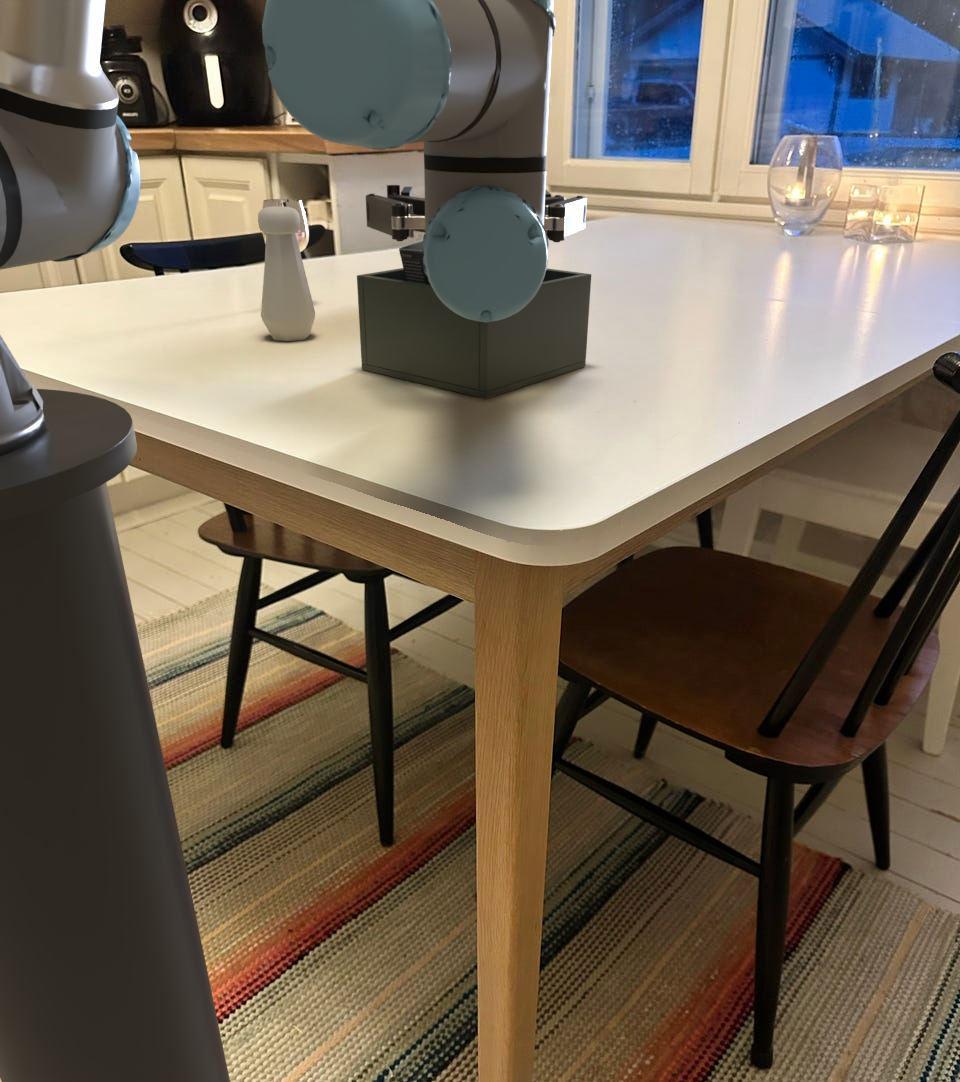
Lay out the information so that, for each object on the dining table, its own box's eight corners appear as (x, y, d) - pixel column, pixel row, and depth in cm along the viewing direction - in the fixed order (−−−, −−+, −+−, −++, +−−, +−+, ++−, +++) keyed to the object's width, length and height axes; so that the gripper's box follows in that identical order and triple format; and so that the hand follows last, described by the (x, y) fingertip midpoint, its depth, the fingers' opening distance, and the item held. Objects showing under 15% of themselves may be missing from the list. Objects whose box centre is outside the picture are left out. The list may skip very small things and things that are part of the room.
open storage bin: (361, 369, 89) (356, 275, 85) (465, 342, 99) (465, 257, 95) (486, 399, 80) (487, 295, 76) (585, 366, 91) (591, 274, 86)
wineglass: (267, 300, 120) (257, 198, 113) (311, 298, 121) (303, 198, 115) (271, 308, 115) (260, 203, 109) (317, 306, 116) (309, 202, 110)
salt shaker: (324, 339, 100) (314, 208, 93) (274, 345, 97) (260, 210, 91) (305, 329, 104) (294, 203, 98) (256, 334, 102) (242, 205, 95)
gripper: (320, 284, 69) (348, 245, 87) (637, 287, 69) (598, 248, 88) (312, 171, 65) (344, 156, 84) (648, 176, 66) (605, 160, 84)
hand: (474, 203), depth 86 cm, fingers open, 12 cm apart
